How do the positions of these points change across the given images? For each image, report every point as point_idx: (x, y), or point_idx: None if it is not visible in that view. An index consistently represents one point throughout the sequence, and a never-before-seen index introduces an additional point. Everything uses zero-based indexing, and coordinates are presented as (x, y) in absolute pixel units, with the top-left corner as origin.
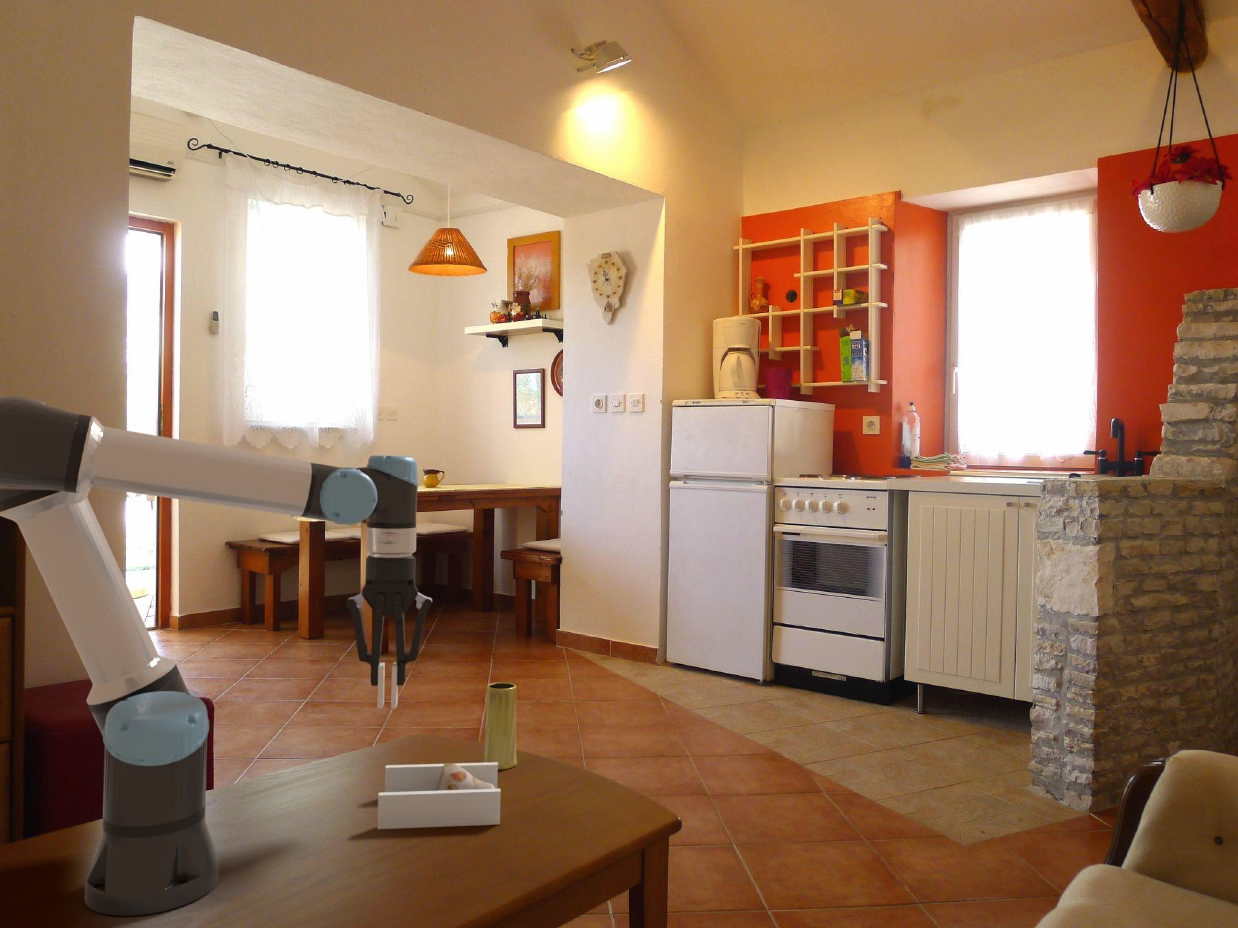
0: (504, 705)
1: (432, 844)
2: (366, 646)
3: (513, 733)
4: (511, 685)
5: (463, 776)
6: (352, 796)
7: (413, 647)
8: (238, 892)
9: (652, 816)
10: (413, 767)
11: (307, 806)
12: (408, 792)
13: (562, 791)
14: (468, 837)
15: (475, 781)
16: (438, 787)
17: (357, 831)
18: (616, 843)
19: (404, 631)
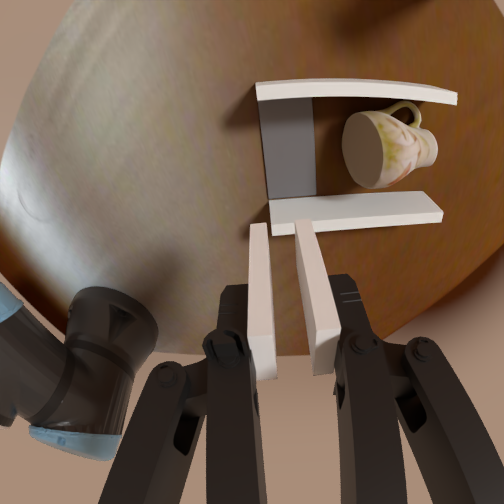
0: None
1: (342, 251)
2: (175, 424)
3: None
4: None
5: (405, 174)
6: (198, 86)
7: (413, 426)
8: (179, 329)
9: None
10: (314, 96)
11: (143, 135)
12: (318, 224)
13: (497, 103)
14: (382, 234)
15: (418, 162)
16: (362, 184)
17: (244, 217)
18: (493, 248)
19: (400, 483)
